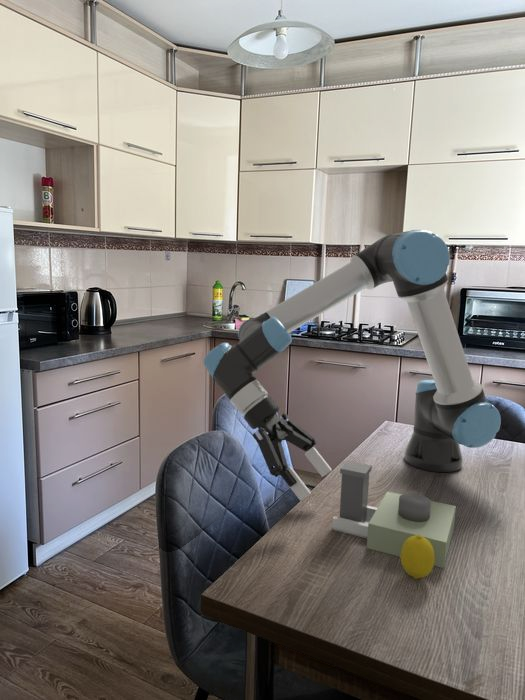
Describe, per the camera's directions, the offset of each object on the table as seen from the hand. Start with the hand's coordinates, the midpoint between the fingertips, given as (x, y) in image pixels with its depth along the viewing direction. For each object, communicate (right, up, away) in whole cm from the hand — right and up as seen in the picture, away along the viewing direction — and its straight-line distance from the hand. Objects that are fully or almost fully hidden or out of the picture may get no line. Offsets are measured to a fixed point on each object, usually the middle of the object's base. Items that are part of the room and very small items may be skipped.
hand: (317, 484), depth 111 cm
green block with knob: (+14, -8, -6) cm, 18 cm away
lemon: (+15, -11, -21) cm, 28 cm away
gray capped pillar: (+7, -7, -2) cm, 10 cm away
